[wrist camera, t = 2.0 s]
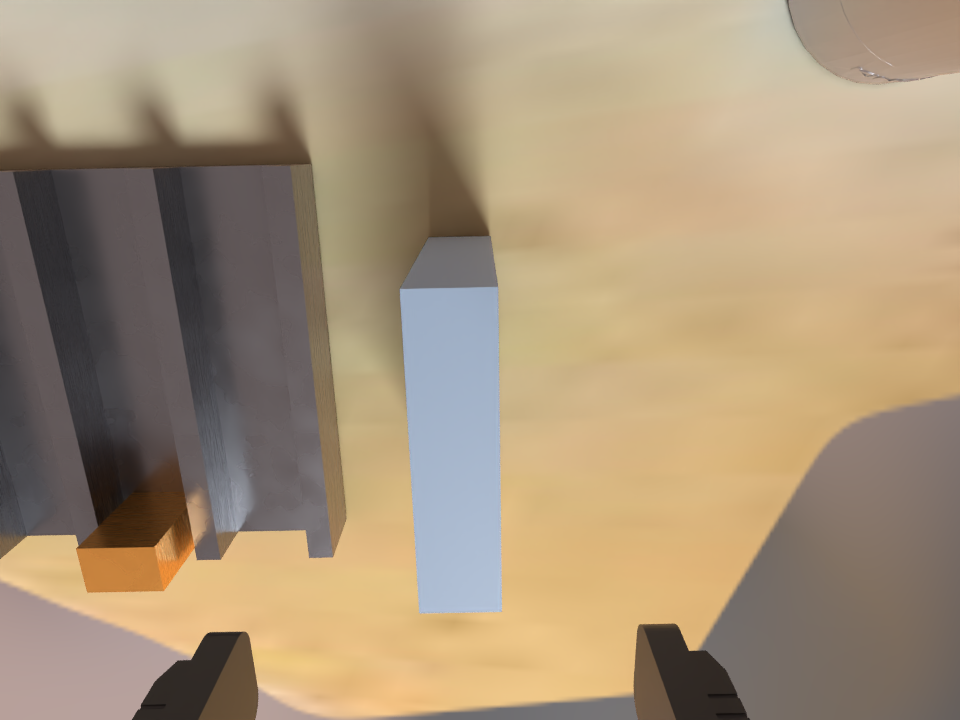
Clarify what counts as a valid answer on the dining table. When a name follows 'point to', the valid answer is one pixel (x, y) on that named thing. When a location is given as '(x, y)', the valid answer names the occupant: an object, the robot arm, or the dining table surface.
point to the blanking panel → (454, 423)
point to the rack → (164, 366)
